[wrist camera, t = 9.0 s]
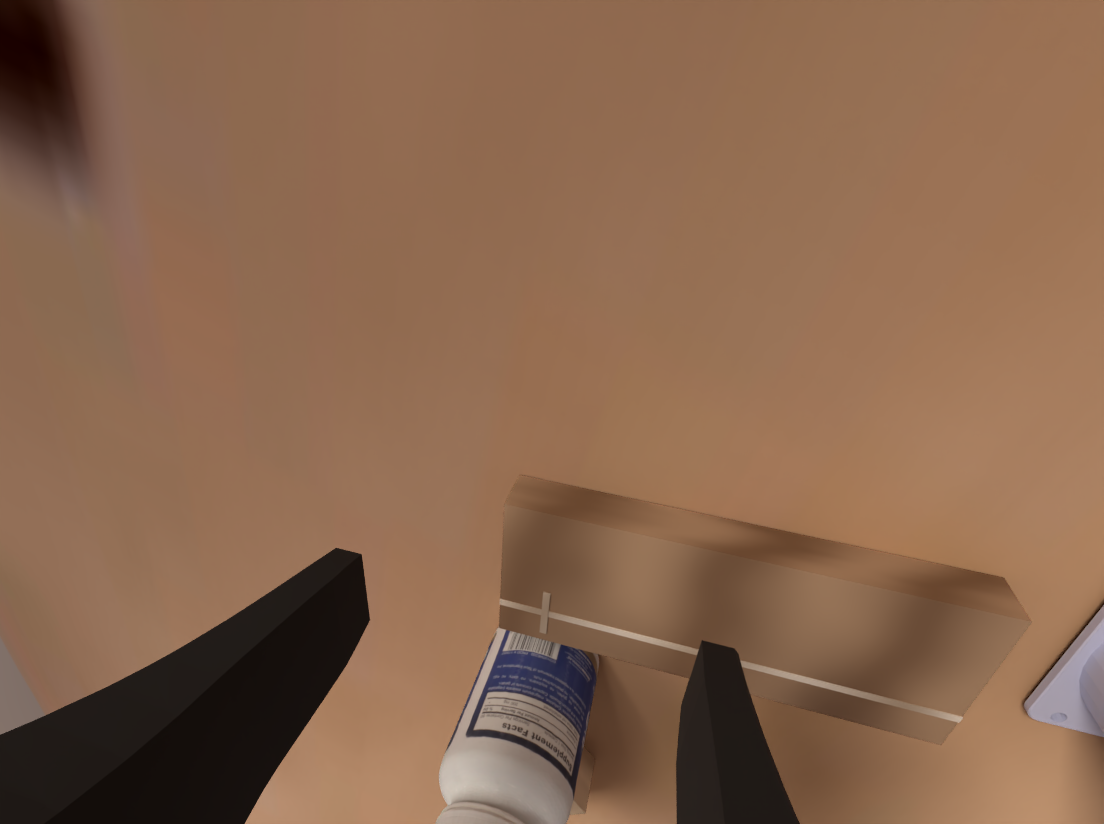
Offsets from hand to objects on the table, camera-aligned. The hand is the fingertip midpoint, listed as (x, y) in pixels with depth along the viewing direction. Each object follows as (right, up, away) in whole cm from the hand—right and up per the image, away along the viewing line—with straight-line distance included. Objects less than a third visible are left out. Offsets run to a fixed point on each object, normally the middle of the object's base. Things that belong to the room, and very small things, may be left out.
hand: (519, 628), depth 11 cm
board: (+8, -3, +12) cm, 14 cm away
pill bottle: (+1, -7, +16) cm, 18 cm away
